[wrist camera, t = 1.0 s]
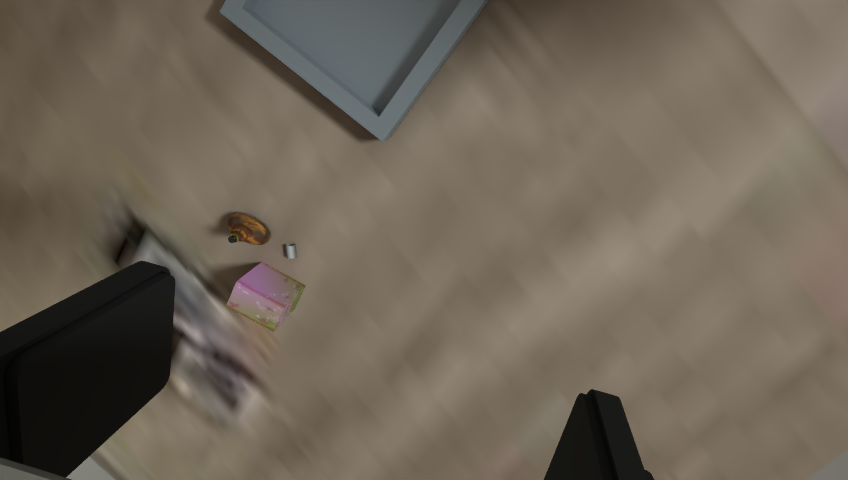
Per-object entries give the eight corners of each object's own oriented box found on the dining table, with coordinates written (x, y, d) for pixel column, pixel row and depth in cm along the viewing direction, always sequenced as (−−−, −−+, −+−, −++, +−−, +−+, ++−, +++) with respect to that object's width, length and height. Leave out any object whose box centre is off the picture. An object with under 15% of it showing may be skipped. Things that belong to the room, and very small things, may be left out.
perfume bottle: (340, 245, 41) (321, 265, 36) (287, 354, 45) (264, 383, 41) (209, 174, 40) (175, 186, 36) (168, 290, 45) (133, 313, 40)
